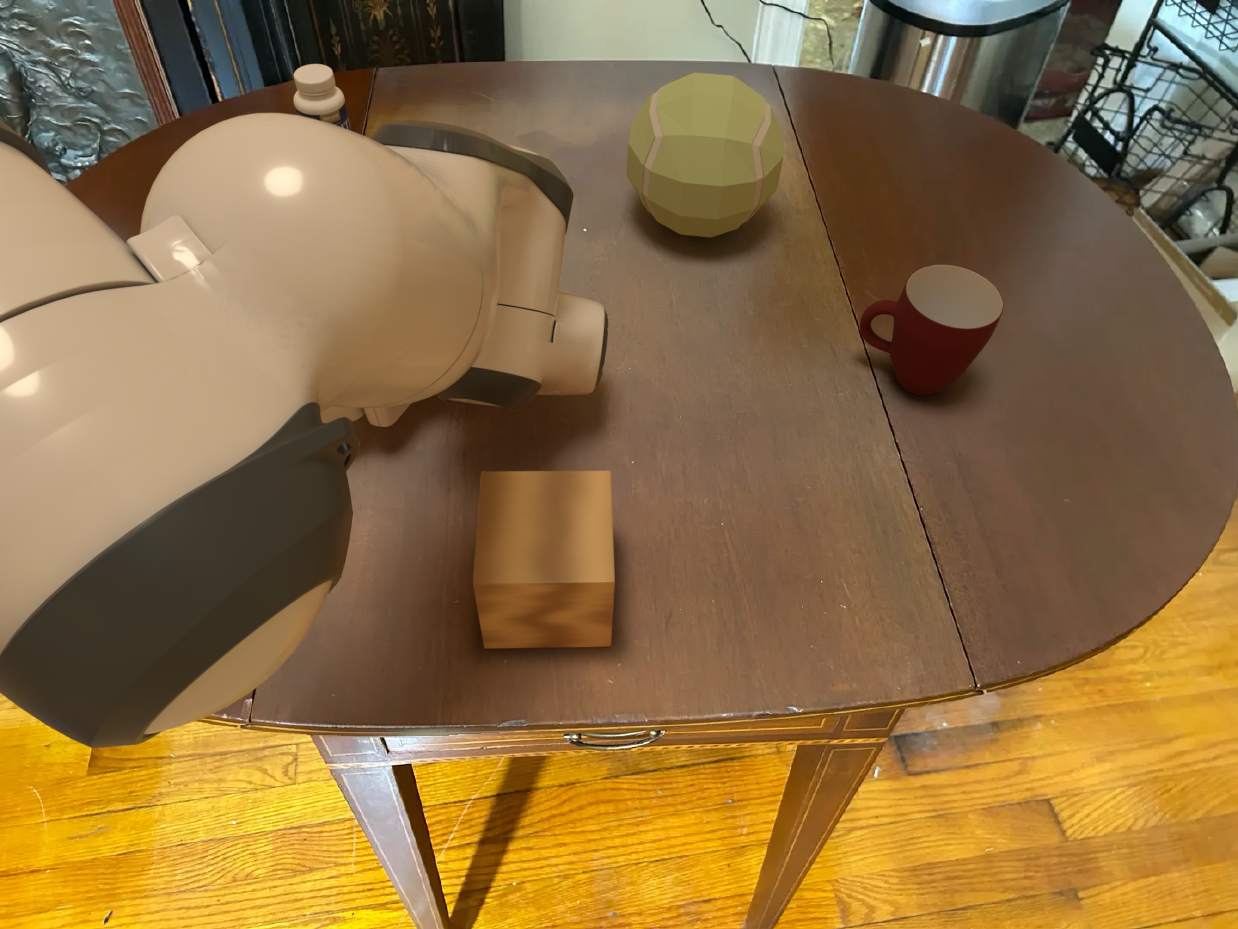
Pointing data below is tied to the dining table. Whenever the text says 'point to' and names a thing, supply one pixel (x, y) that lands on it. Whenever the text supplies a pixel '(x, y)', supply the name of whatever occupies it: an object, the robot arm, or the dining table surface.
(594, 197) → the dining table surface
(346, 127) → the pill bottle
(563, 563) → the block stand
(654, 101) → the decorative sphere
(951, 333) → the mug
